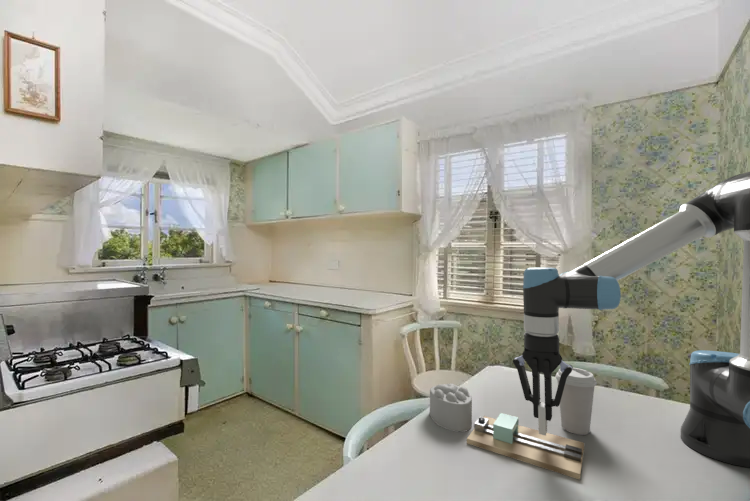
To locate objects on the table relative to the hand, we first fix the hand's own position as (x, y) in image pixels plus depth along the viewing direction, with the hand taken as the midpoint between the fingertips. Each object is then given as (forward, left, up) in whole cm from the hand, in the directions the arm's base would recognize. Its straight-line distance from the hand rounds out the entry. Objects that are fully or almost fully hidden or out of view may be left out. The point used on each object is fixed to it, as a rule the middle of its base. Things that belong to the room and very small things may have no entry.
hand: (543, 432), depth 82 cm
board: (+4, 0, -4) cm, 6 cm away
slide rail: (+4, 0, -3) cm, 5 cm away
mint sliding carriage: (+8, 0, -3) cm, 9 cm away
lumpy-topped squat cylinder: (+24, -2, -5) cm, 24 cm away
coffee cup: (-5, -16, -5) cm, 18 cm away
